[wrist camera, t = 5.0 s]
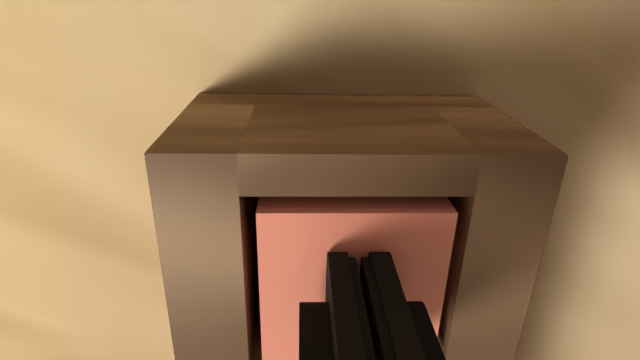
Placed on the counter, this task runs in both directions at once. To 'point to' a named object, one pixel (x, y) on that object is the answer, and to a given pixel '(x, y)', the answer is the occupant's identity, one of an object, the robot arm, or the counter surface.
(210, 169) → the frame
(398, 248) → the pink block
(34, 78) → the counter surface
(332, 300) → the robot arm
